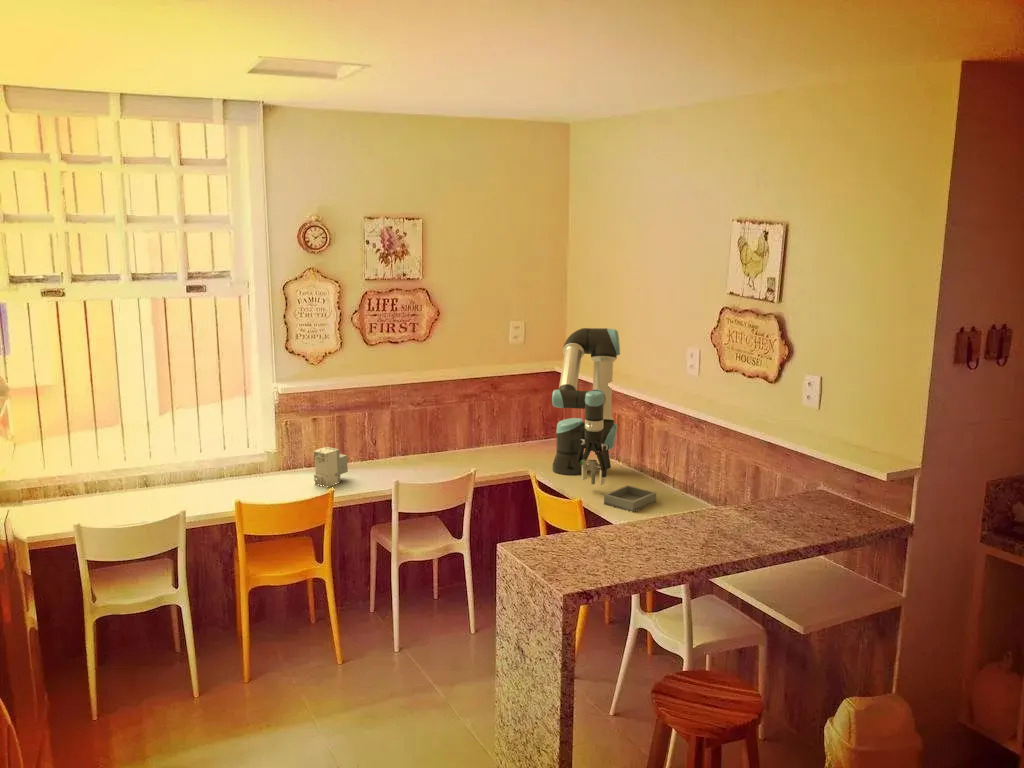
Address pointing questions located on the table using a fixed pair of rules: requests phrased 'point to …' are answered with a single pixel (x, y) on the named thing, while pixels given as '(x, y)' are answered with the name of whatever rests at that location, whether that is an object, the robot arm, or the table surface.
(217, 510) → the table surface
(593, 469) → the mechanical component
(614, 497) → the parts tray
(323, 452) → the circuit breaker
